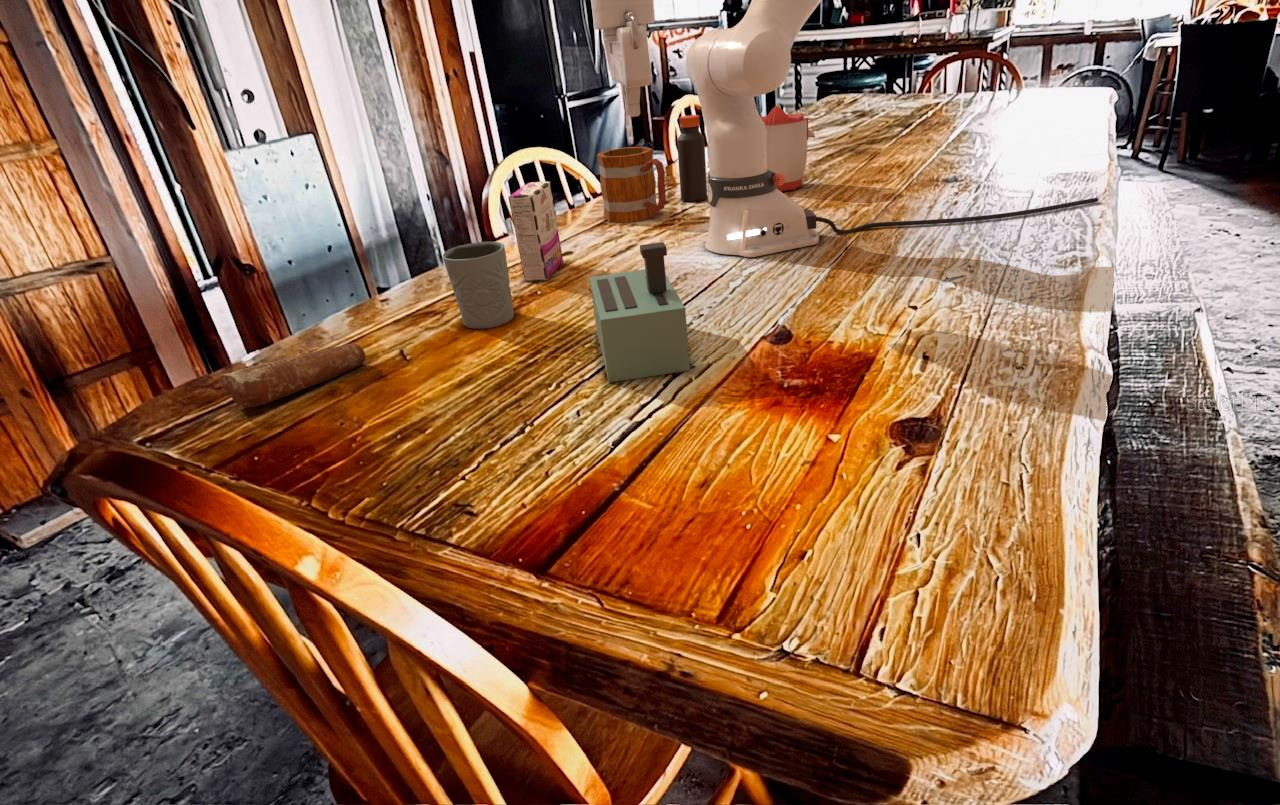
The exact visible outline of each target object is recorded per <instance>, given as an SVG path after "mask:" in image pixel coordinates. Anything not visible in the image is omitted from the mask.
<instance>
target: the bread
mask: <svg viewBox="0 0 1280 805" xmlns="http://www.w3.org/2000/svg"><path fill="white" fill-rule="evenodd" d="M366 358H367V357H366V352H365V350H364V349H363V347H361V345H359V344H357V343H351V342H350V343H348V344H343V345H339V346H338V345H337V346H335V347H330V348H326V349H322V350H318V351H313V352H308V353H304V354H298V355H295V356H291V357H286V358H282V359H278V360H275V361H274V360H273V361H270V362H266V363H260V364H257V365H253V366H249V367H245V368H240V369H238V370H235V371H232V372H226V373H223V374H221V375H219V376H218V377H219V381H220V383H221V385H222V387H223V389H224V390H225V392H226V393H227V394H228V395H230V396H231V398H232V401H233V402H234V403H235V404H237V405H241V406H242V407H243V408H244V409H247V408H257V407H260V406H261V407H262V406H265V405H268V404H270V403H273V402H276V401H277V400H281V399H283V398H286V397H289V396H291V395H293V394H295V393H298V392H301V391H303V390H305V389H309V388H311V387H314V386H316V385H319V384H321V383H324V382H327V381H329V380H331V379H334V378H336V377H338V376H340V375H342V374H344V373H347V372H350V371H352V370H354V369H356V368H358V367H360V366H362V365H363V364H364V363H365V361H366Z"/></svg>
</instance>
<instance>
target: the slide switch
mask: <svg viewBox="0 0 1280 805" xmlns="http://www.w3.org/2000/svg"><path fill="white" fill-rule="evenodd" d="M667 250H668V249H667V246H666V244H665V243H664V242H663V241H660V242H653V243H646V244H639V251H640V255H641V257H642V259H643V260H644V269H645V271H646V281H647V289H648V292H649V294H652V293H659V292H666V291H667V288H666V276H667V275H666V276H665V274H666V266H665V265H666V264H665V257H667V256H668V251H667Z"/></svg>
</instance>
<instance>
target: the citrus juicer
mask: <svg viewBox="0 0 1280 805" xmlns="http://www.w3.org/2000/svg"><path fill="white" fill-rule="evenodd" d="M760 117H761V119H762V120H763V122H764V123H765V126H766V129H767V169H768V170H770V171H772V172H774V173H776V174H777V173H780V174H782V175H784V177H785V178H784V179H786V180H784V181H785V182H783V183H784V184H783V185H781V186H779V185H777V188H776V189H778V190H779V191H781V192H785V191H794V190H796V189H797V188H799V187H800V186H801V183H802V181H803V178H804V174H805V171H806V166H807V159H808V141H809V138H815V139H816V135H815V132H813V131H811V130H810V129H809V117H806V118H805V116H804V114H800V113H799V114H797V113H795V114H794V113H792V114H791V113H789V114H788V113H786V112H785V110H783V108H781V107H780V106H779V105H775V106H774V107H772V109H771V110H770V112H769V113H768V114H767V115H764V116H760Z"/></svg>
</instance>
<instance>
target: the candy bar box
mask: <svg viewBox="0 0 1280 805" xmlns="http://www.w3.org/2000/svg"><path fill="white" fill-rule="evenodd" d="M508 201H509V202H508V203H509V208H510V212H511V218H512V223H513V228H514V234H515V236H516V243H517V247H518V254H519V257H520V263H521V268H522V273H523V278H524V281H525V282H540V281H541V282H542V281H548V280H549V279H550V278H551V277H552V276H553V275H554V273H555V272H557V270H558V269H559V268H560V267H561V265H563V264H564V258H563V253H562V252H563V251H562V246H561V240H560V234H559V228H558V222H557V217H556V211H555V210H556V209H555V205H554V204H555V203H554V198H553V193H552V186H551V181H532V182H531V181H530V182H527V183H525V184H524V185H523V186H521V187H520V188H519V189H517V190H516V191H515V192H513V193H512V194H510V195H509V196H508Z"/></svg>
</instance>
